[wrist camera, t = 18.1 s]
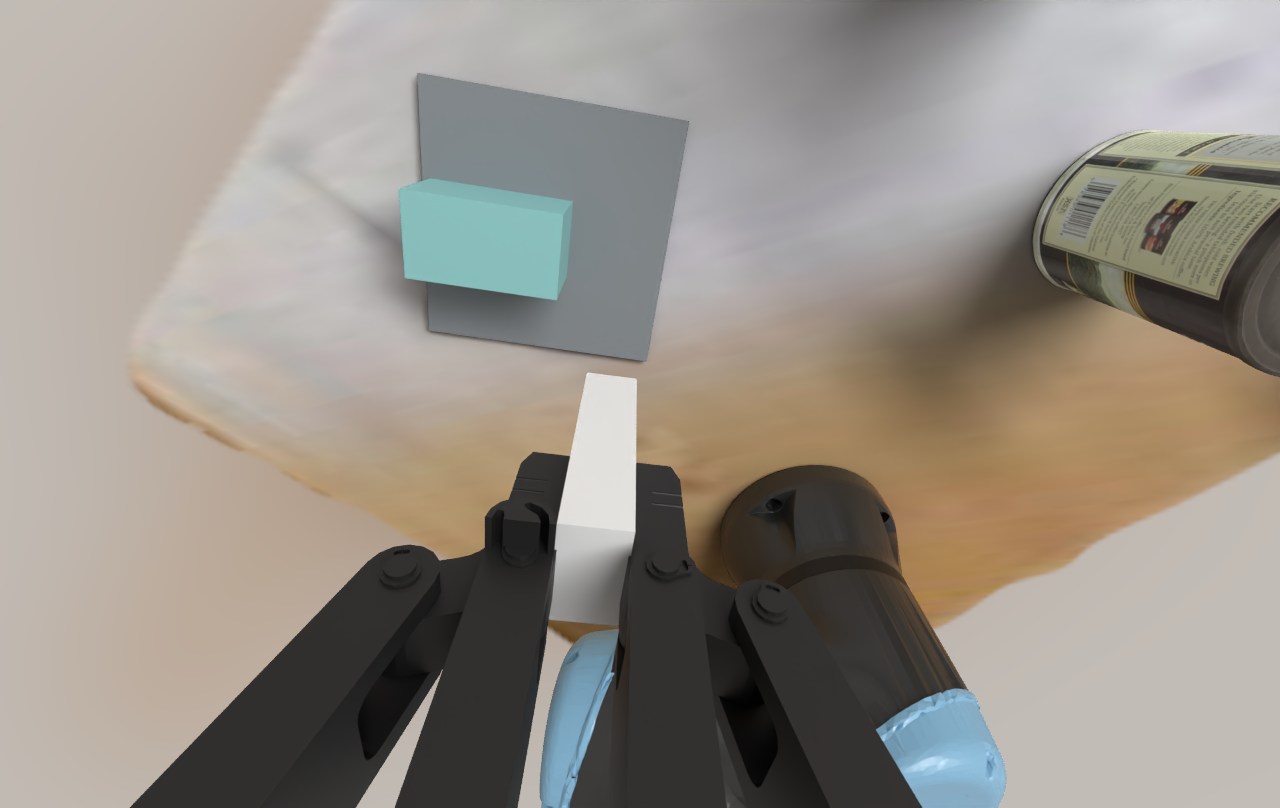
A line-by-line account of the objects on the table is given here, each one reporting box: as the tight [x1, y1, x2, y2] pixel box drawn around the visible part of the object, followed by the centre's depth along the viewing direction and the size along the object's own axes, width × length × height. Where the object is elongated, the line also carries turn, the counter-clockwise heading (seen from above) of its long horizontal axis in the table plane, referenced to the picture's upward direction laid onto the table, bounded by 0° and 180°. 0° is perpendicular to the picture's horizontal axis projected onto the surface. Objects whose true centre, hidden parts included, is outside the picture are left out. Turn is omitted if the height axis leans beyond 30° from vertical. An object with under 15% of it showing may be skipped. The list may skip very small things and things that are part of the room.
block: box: [399, 178, 573, 300], centre depth 32 cm, size 5×5×9 cm
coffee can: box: [1033, 130, 1280, 377], centre depth 28 cm, size 10×10×14 cm
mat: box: [417, 73, 689, 361], centre depth 35 cm, size 16×16×1 cm
